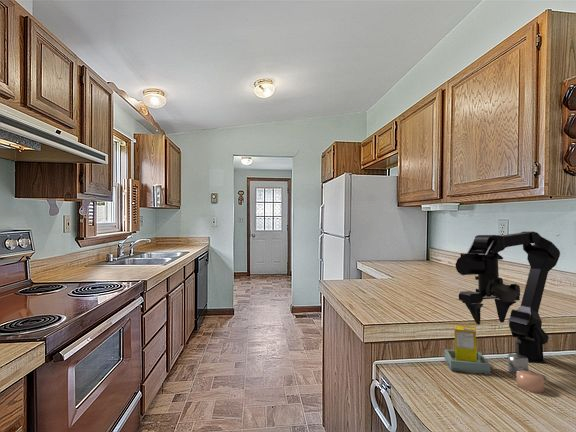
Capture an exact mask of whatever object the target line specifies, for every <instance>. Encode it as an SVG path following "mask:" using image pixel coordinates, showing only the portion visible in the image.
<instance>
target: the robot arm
mask: <svg viewBox="0 0 576 432" xmlns="http://www.w3.org/2000/svg"><path fill="white" fill-rule="evenodd" d="M515 246H522V250H523V251H524V252H525V253H526V254H527V257H526V259H527V261H528V264H529V266H530V267H529V273H528V277H527V281H526V283H525V287H524V292H523V296H522V298H521V299H520V297H521V287H520V284H517V283H511V284H505V283H504V280H503V277H500V276H499V260H501V261H502V260H504V257H503V256H502V255H501V254H499V253H500V252H502V251H505V249H506V248H509V247H515ZM560 257H561V251H560V249H559V248H558V247H557V246H556V245H555V244H554V243H553V242H552V241H551V240H549V239H547V238H544V237H543V236H542V235H541V234H539V233H538V232H537V231H522V232H516V233H509V234H502V235H500V234H499V235H498V234H478V235H475V236H474V239H473V241H472V243H471V245H470V246H469V248H468V250H467V251H466V253H465V252H461V253H460V257H458V259H456V262H455V269H456V272H457V273H458V274H459V275H461V276H472V275H473V276H474V275H475V276H474V279H475V280H476V281H477V283H478V284H477V285H478V288H475V291H471V290H467V291H465V290H464V291H460V292H459V293H458V301H461V302H462V304H464V305H465V306H466V307H467V309H468V310H469V313H470V314H471V316H472V318H473V320H474V322H475V323H476V325H481V310H482V309H481V308H482V307H483V306H484V303H482V302H483V300H490V299H491V300H493V299H494V303H495V307H496V308H495V309H496V313H497V316H498V320H499V322H500V323H505V320H506V316H507V314H508V312H509V309H510V307H511V306H512V305H514V304H516V303H518V302H517V301H520V300H521V303H520V306H519V307H518V308H517V309H511V311H510V315H509V318H508V320H507V321H508V327H509V329H510V332H511V334H512V335H511V336H512V337H513V338H515V339H517V340H516V342H515V354H518V355H522V356H525V357H527V358H528V362H532V363H533V362H534V363H543V364H545V363H547V360H546V359H544V345H546V344H548V342H549V338H550V337H549V335H548V334H547V332H546V331H544V330H543V328H542V324H543V321H542V319H541V316H540V314H539V310H540V308H541V307H540V306H541V302H542V299H543V294H544V289H545V287H546V282H547V278H548V275H549V272H550V271H551V270H552V269H553V268H554V267H555V266H557V263H558V261H559V258H560ZM476 275H477V276H476Z"/></svg>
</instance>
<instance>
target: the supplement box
mask: <svg viewBox="0 0 576 432" xmlns="http://www.w3.org/2000/svg"><path fill="white" fill-rule="evenodd" d="M476 328H477V327H476V326H471V325H462V324H455V325H454V350H455V357H456V361H468V362H477V352H478V347H477V345H478V344H477V329H476Z"/></svg>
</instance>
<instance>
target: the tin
mask: <svg viewBox="0 0 576 432" xmlns="http://www.w3.org/2000/svg"><path fill="white" fill-rule="evenodd" d="M507 365H508V366H507V367H508V369H507V370H508V372H509V373H511V374H513V375H516V376H517V373H516V372H517V371H530V370H529V361H528V358H527V357H525V356H522V355H518V354H516V353H508V354H507Z"/></svg>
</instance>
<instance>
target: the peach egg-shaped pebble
mask: <svg viewBox="0 0 576 432" xmlns="http://www.w3.org/2000/svg"><path fill="white" fill-rule="evenodd" d="M516 373H517V375H516V386H517V387H518V389H520V388H521V390H522V389H523V390H522V391H524V390H526V391H525V392H527V391H529V392H528V393H532V392H535V393H534V394H542V393H541V392H543V393H545V378H544V376H543V375H542V374H540V373H537V372H536V371H535V372H534V371H530V370H529V371H517V372H516Z"/></svg>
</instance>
